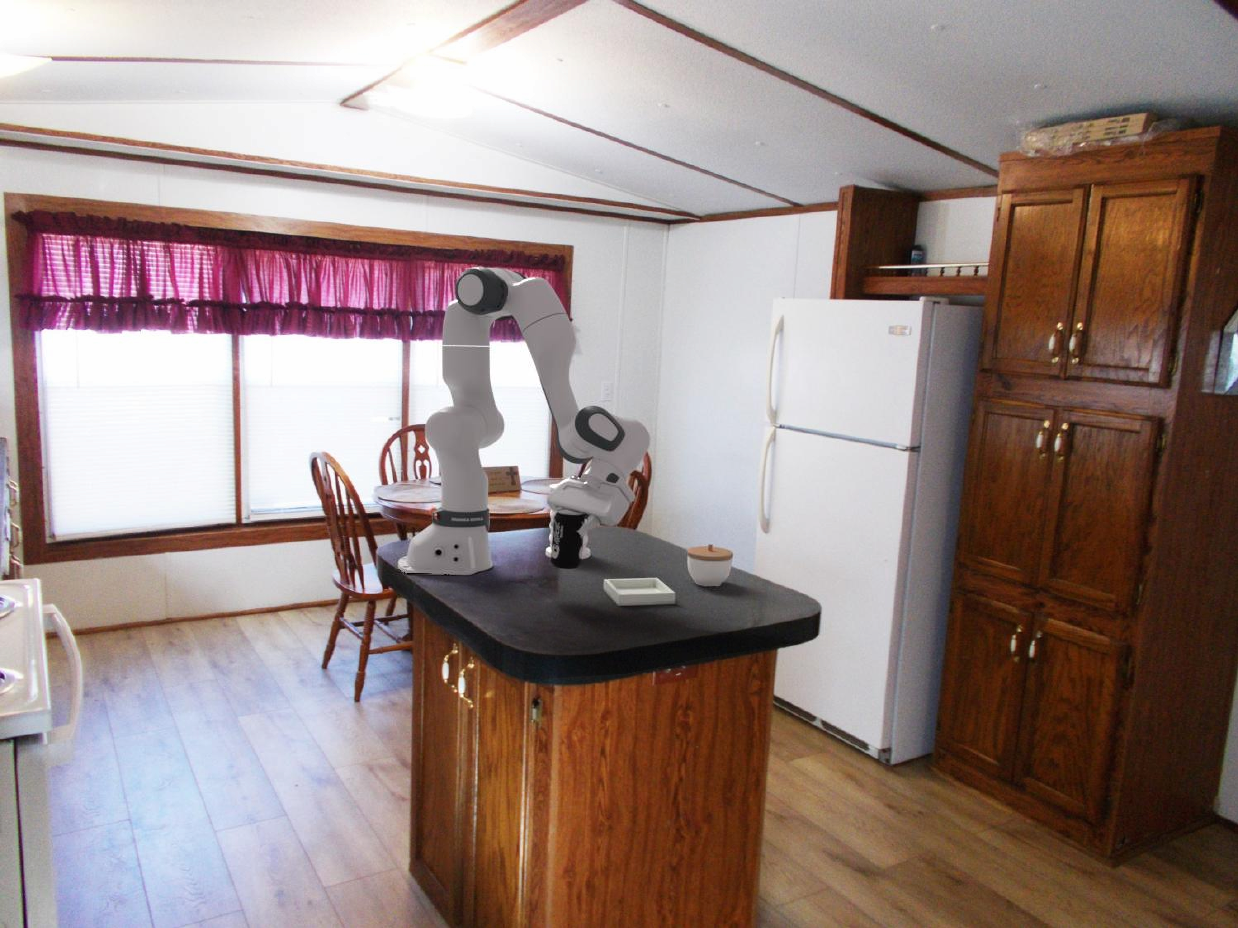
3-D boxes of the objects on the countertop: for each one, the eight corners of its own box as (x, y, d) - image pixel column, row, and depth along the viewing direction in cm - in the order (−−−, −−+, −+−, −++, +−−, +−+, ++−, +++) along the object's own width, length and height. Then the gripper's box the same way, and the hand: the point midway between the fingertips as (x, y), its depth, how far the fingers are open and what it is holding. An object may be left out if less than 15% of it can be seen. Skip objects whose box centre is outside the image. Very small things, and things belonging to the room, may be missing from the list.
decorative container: (542, 549, 241) (544, 482, 239) (585, 549, 244) (588, 483, 242) (549, 560, 230) (551, 490, 228) (594, 559, 233) (597, 490, 231)
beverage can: (576, 571, 192) (581, 515, 190) (546, 567, 193) (550, 511, 192) (584, 564, 198) (588, 510, 197) (555, 560, 199) (559, 507, 198)
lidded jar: (682, 577, 220) (684, 538, 218) (725, 577, 221) (728, 539, 220) (689, 589, 209) (692, 549, 208) (735, 589, 210) (738, 550, 209)
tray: (618, 605, 193) (619, 594, 193) (603, 589, 205) (603, 579, 205) (674, 603, 197) (675, 592, 196) (656, 587, 209) (657, 577, 208)
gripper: (562, 465, 205) (527, 512, 199) (628, 479, 191) (592, 530, 185) (576, 484, 209) (541, 530, 203) (641, 499, 195) (606, 549, 189)
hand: (566, 530), depth 194 cm, fingers closed on beverage can, 6 cm apart
